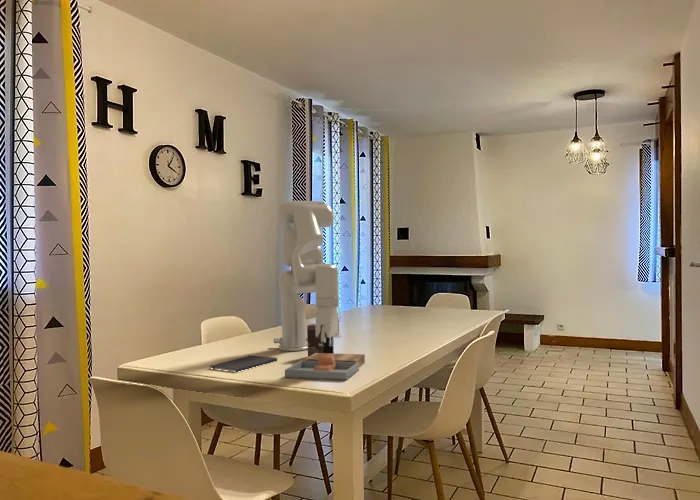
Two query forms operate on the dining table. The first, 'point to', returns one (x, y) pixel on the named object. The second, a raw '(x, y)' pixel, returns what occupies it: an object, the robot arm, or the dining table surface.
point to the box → (313, 341)
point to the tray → (307, 371)
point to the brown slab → (342, 358)
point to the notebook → (243, 363)
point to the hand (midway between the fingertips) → (328, 358)
